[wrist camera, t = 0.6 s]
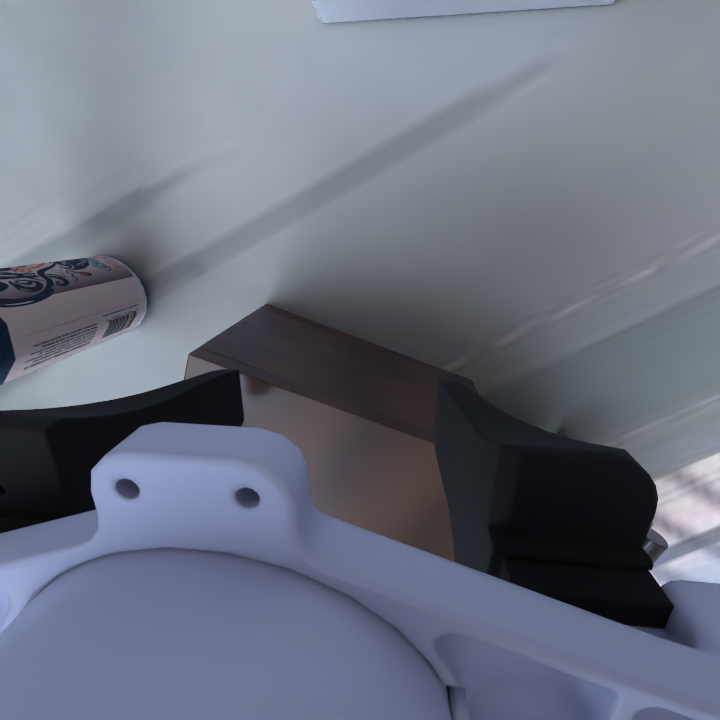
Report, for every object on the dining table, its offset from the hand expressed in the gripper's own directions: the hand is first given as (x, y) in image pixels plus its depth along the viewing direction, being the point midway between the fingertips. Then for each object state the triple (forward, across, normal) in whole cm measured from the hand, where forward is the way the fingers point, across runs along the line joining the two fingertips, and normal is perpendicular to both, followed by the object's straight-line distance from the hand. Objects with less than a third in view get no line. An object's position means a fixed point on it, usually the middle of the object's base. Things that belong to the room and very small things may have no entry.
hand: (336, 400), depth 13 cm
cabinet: (+10, +2, +7) cm, 12 cm away
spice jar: (+10, +16, -2) cm, 19 cm away
